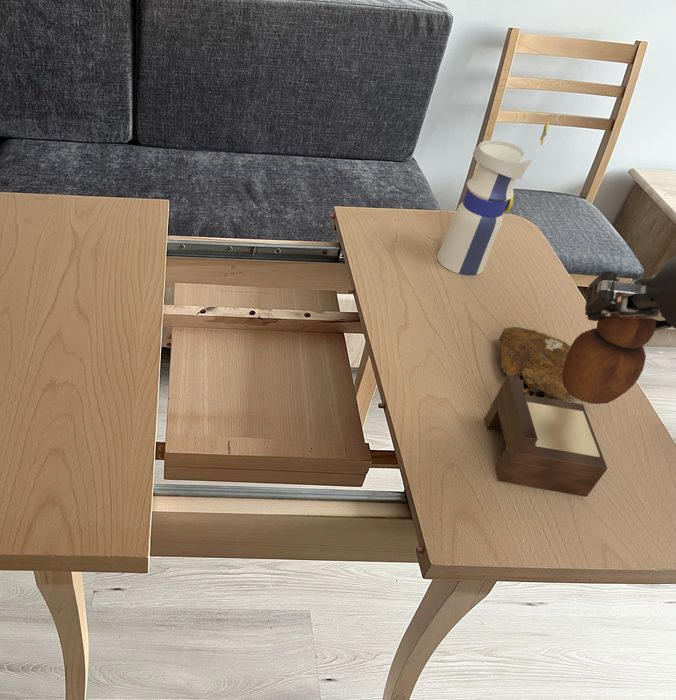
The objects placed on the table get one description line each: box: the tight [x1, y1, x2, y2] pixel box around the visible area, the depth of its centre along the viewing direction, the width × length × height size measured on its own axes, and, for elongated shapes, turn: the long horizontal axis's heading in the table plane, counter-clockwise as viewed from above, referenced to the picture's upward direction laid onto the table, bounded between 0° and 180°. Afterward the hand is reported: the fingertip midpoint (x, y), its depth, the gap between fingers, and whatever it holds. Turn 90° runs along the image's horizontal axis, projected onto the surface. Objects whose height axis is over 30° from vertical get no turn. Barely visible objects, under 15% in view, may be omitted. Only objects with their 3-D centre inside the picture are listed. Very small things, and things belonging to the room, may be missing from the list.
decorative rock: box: [497, 326, 574, 401], centre depth 92 cm, size 11×4×15 cm
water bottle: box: [436, 120, 550, 276], centre depth 106 cm, size 8×9×25 cm
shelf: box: [484, 374, 608, 497], centre depth 80 cm, size 10×10×8 cm
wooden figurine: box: [562, 300, 657, 405], centre depth 70 cm, size 7×6×15 cm
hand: (620, 315), depth 70 cm, fingers closed on wooden figurine, 5 cm apart
